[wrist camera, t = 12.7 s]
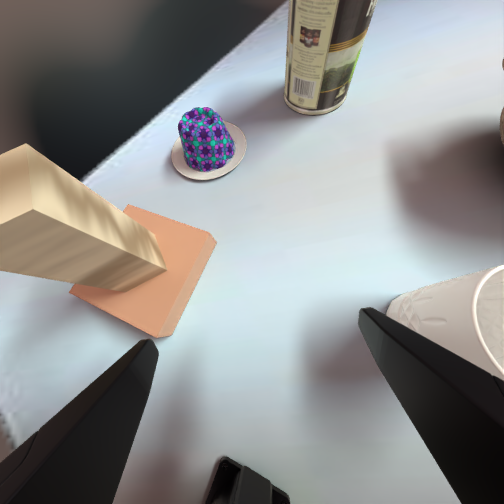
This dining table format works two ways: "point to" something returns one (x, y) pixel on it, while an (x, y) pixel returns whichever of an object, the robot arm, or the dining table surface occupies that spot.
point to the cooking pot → (502, 119)
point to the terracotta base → (158, 277)
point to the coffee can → (323, 51)
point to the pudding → (207, 145)
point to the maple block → (68, 228)
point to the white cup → (460, 316)
